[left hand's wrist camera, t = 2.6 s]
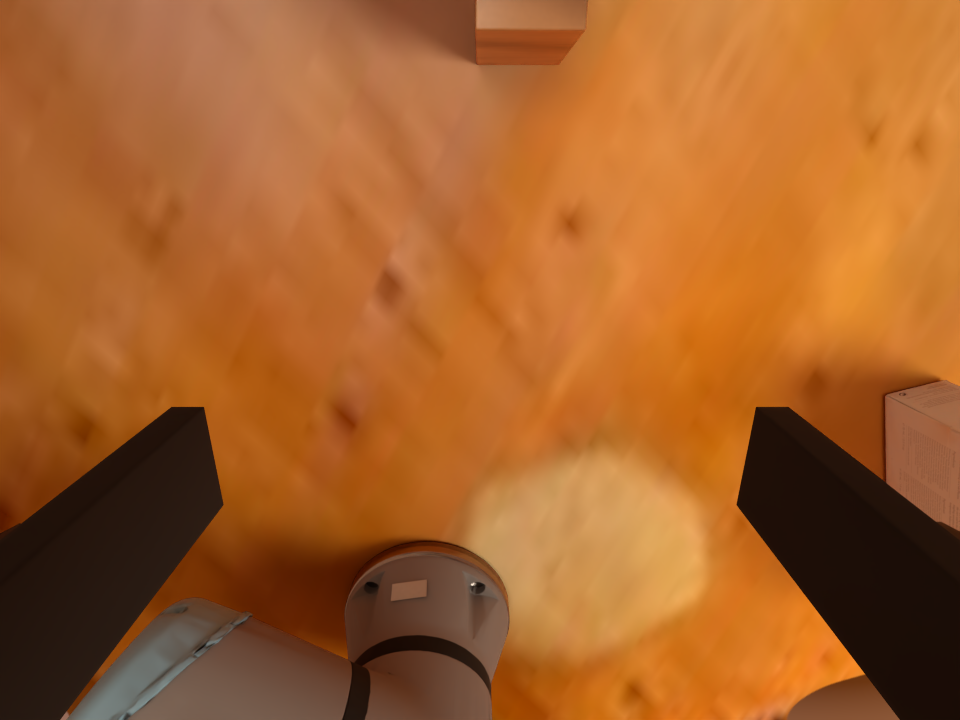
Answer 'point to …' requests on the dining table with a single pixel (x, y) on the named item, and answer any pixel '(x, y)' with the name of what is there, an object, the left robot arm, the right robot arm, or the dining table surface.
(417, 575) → the left robot arm
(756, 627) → the dining table surface
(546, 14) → the bar
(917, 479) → the skincare box
